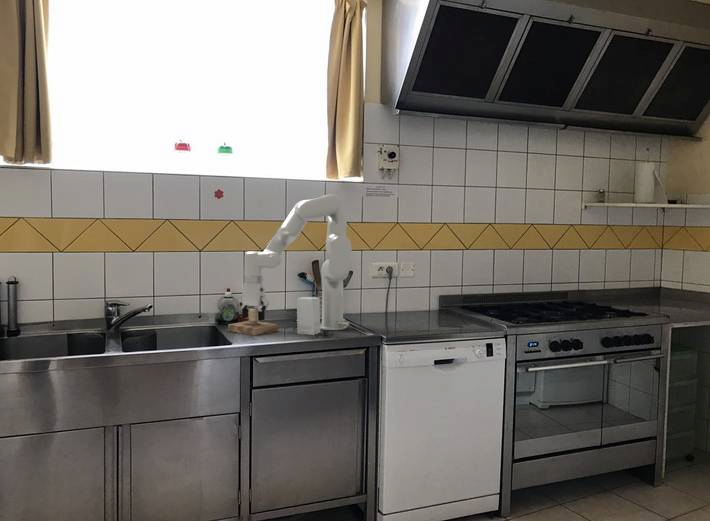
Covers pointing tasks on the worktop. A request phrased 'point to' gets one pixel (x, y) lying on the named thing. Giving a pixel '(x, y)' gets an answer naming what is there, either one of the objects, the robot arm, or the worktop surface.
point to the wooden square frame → (252, 328)
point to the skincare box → (308, 315)
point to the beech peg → (253, 316)
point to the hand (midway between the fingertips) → (253, 319)
